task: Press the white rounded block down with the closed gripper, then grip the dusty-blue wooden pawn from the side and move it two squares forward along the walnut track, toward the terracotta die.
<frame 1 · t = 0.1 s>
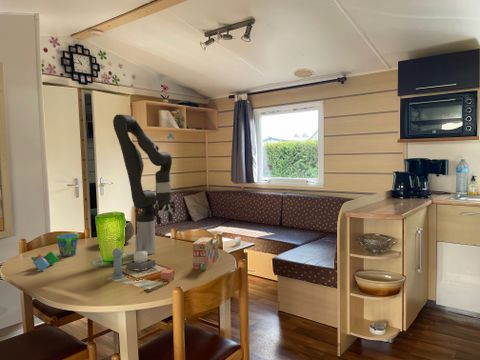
hand: (164, 222, 191), 17 cm above the table, tool pointing down, fingers open, 8 cm apart
popper housing: (141, 269, 170), on the table
die: (167, 280, 155), on the table
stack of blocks: (206, 263, 180), on the table
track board: (133, 283, 151), on the table
pawn: (118, 277, 156), point 1 cm above the table, touching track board
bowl: (118, 243, 221), on the table
white rounded block: (140, 257, 169), point 6 cm above the table, slide at 0.0 cm
building blocks: (46, 268, 174), on the table
snack cup: (68, 255, 196), on the table
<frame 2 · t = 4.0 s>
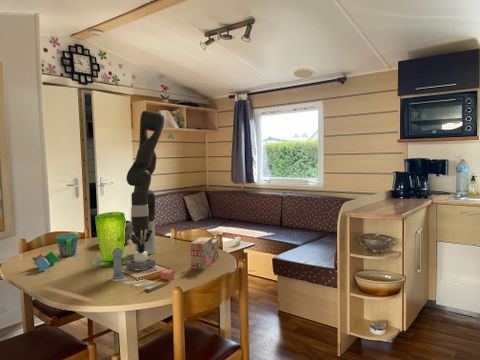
hand: (141, 252, 169), 8 cm above the table, tool pointing down, fingers closed
white rounded block: (140, 258, 169), point 5 cm above the table, slide at 0.1 cm, touching gripper
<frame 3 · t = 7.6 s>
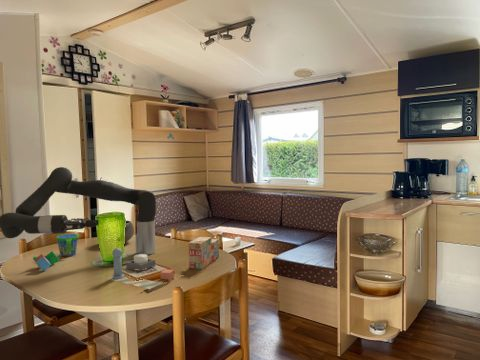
hand: (97, 223, 154), 24 cm above the table, tool horizontal, fingers open, 3 cm apart
white rounded block: (140, 261, 169), point 4 cm above the table, slide at 1.6 cm
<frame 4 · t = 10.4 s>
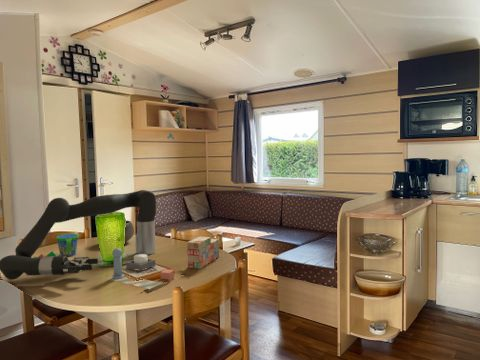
hand: (94, 264, 154), 7 cm above the table, tool horizontal, fingers open, 8 cm apart
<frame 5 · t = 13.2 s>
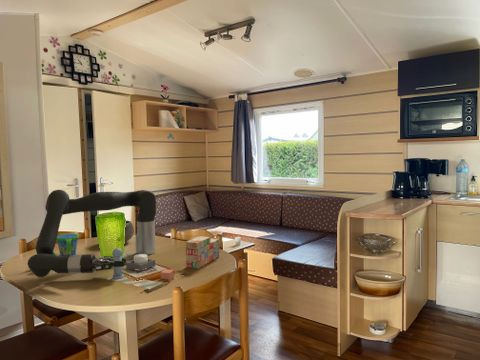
hand: (124, 262, 156), 7 cm above the table, tool horizontal, fingers closed on pawn, 3 cm apart
pawn: (118, 277, 156), point 1 cm above the table, touching gripper, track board
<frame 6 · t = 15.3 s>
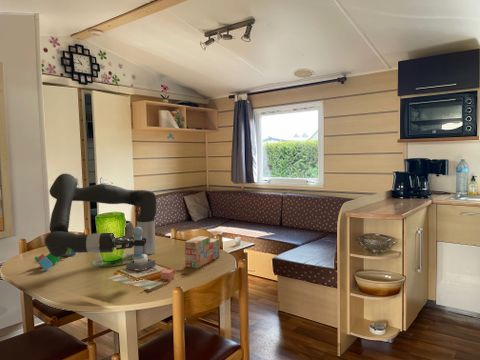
hand: (145, 241, 149), 18 cm above the table, tool horizontal, fingers closed on pawn, 3 cm apart
pawn: (138, 257, 149), point 11 cm above the table, touching gripper
when the fingers open (9 cm above the table, at t = 17.4 s): pawn drops 1 cm, resting on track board.
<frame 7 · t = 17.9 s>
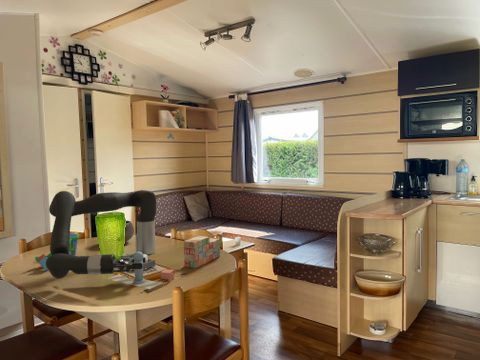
hand: (143, 262, 149), 9 cm above the table, tool horizontal, fingers open, 7 cm apart
pawn: (139, 282, 150), point 1 cm above the table, touching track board
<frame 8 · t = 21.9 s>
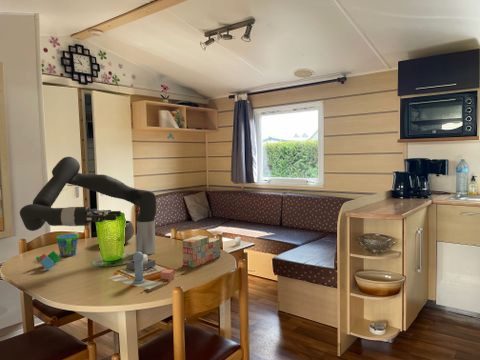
hand: (118, 215, 149), 28 cm above the table, tool horizontal, fingers open, 8 cm apart
at the end: pawn 0.1 cm from the target spot on the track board, point 1.2 cm above the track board's base; pawn tilted 0°; white rounded block slide at 1.6 cm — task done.
